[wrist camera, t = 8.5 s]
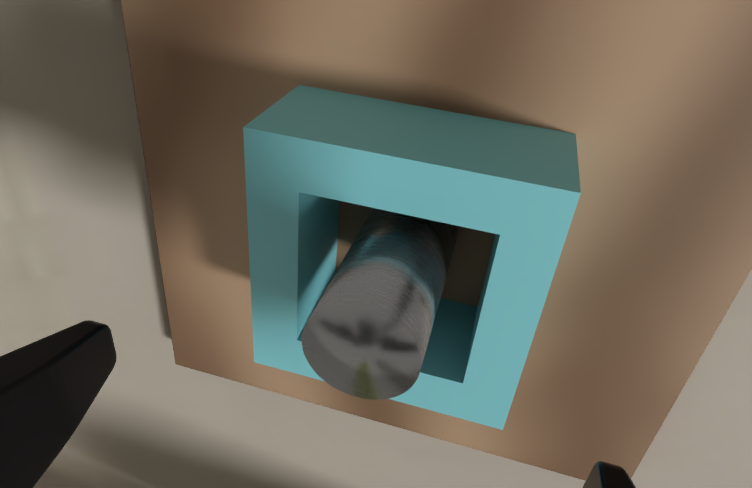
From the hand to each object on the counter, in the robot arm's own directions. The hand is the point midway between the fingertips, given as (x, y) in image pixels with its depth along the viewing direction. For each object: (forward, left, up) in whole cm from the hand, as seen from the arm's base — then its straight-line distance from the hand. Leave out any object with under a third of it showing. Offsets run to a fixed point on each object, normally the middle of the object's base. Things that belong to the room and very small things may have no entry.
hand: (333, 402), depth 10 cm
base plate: (0, 0, -7) cm, 7 cm away
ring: (0, 0, -6) cm, 6 cm away
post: (0, 0, -6) cm, 6 cm away
